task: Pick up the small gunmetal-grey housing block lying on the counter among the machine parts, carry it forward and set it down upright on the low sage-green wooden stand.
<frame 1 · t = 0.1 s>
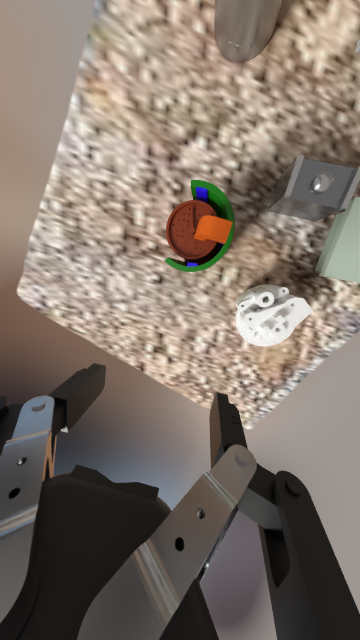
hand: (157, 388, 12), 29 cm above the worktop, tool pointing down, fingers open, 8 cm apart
motor: (201, 245, 37), on the worktop
housing: (296, 201, 32), on the worktop
stand: (352, 248, 33), on the worktop
mechanical part: (257, 310, 39), on the worktop
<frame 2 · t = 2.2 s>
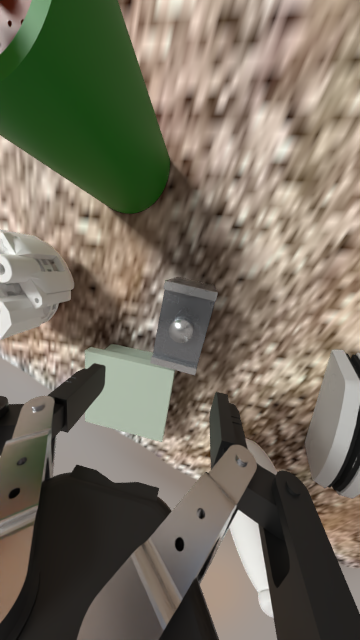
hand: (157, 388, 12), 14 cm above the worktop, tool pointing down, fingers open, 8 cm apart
motor: (128, 172, 21), on the worktop
housing: (188, 312, 25), on the worktop
stand: (138, 377, 29), on the worktop
sauce bottle: (242, 441, 30), on the worktop
mechanical part: (52, 281, 27), on the worktop
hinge: (324, 400, 26), on the worktop
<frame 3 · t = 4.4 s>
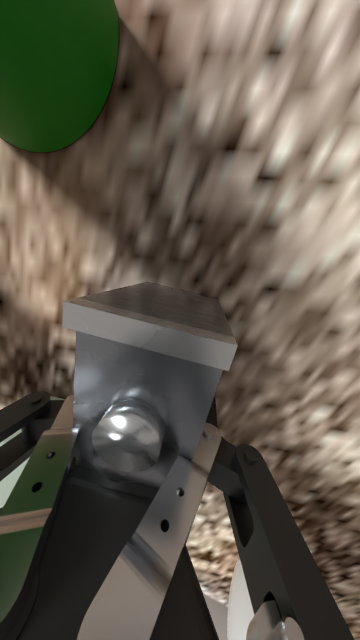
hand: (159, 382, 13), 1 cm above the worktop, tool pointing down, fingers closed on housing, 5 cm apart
motor: (34, 57, 10), on the worktop
housing: (169, 348, 13), on the worktop, touching gripper
stand: (91, 446, 18), on the worktop
sauce bottle: (259, 545, 19), on the worktop
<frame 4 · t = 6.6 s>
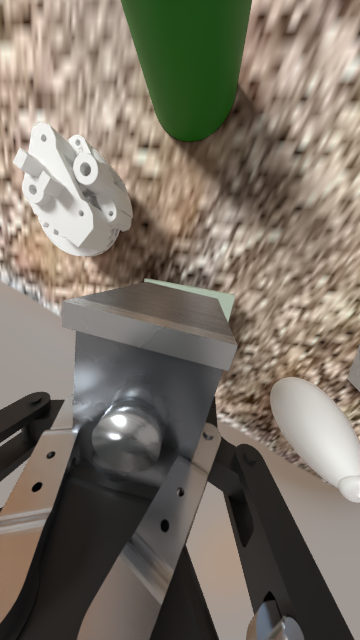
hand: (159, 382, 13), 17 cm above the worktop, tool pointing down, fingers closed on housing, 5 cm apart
motor: (193, 98, 22), on the worktop
housing: (169, 348, 13), point 16 cm above the worktop, touching gripper
stand: (184, 319, 29), on the worktop
sauce bottle: (284, 384, 30), on the worktop
mechanical part: (103, 220, 27), on the worktop
when the fingers open (8 cm above the worktop, at t = 9.0 s): housing drops 2 cm, resting on stand.
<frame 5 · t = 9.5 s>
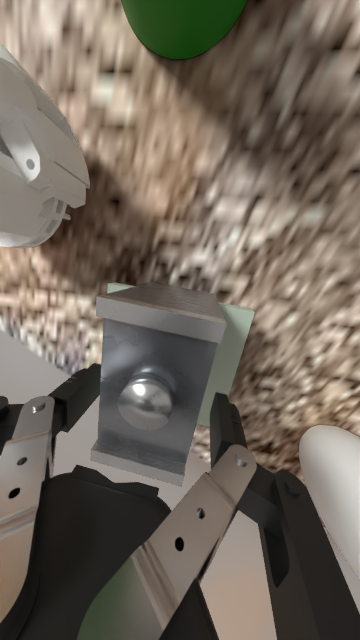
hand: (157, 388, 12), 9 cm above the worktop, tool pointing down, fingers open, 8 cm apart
housing: (173, 340, 15), point 5 cm above the worktop, touching stand
stand: (176, 340, 21), on the worktop
sauce bottle: (316, 431, 22), on the worktop
mechanical part: (55, 195, 18), on the worktop
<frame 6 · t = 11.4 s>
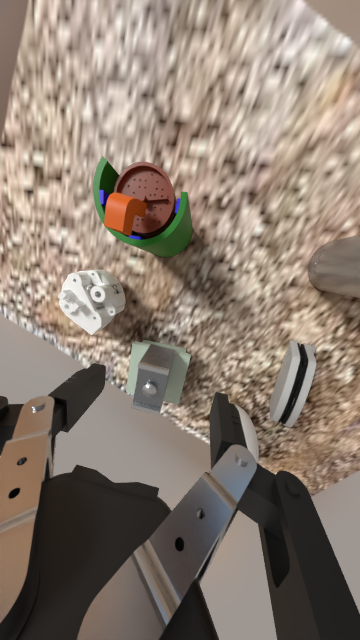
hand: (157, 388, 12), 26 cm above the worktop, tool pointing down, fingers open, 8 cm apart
motor: (165, 232, 34), on the worktop
housing: (159, 366, 36), point 5 cm above the worktop, touching stand
stand: (161, 363, 42), on the worktop
sauce bottle: (230, 408, 44), on the worktop
mechanical part: (105, 296, 39), on the worktop
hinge: (283, 373, 40), on the worktop
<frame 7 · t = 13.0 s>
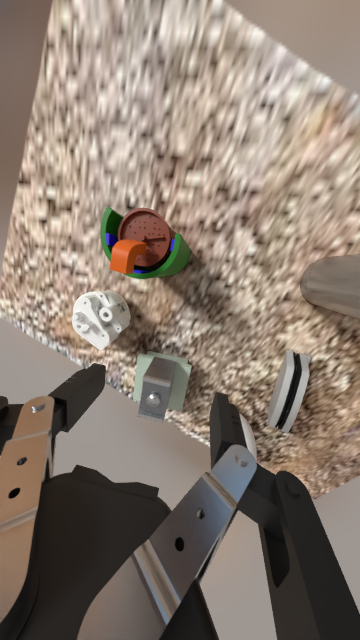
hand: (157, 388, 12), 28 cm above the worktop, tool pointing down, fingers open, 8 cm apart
motor: (166, 254, 37), on the worktop
housing: (162, 376, 39), point 5 cm above the worktop, touching stand
stand: (165, 372, 45), on the worktop
sauce bottle: (231, 414, 46), on the worktop
mechanical part: (112, 311, 42), on the worktop
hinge: (281, 381, 42), on the worktop
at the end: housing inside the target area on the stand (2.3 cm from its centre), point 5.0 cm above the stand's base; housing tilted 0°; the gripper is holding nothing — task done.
